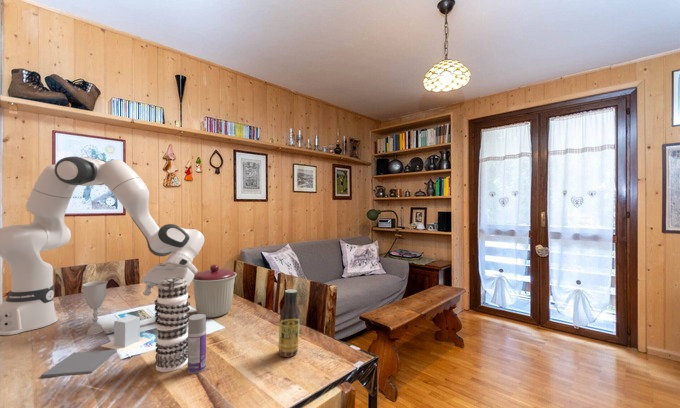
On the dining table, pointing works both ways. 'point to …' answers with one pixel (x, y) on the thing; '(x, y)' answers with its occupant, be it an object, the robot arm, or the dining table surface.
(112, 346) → the card
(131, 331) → the grey blue block
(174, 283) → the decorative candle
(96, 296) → the chalice
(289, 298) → the sauce bottle
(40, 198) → the robot arm
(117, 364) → the dining table surface
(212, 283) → the canister
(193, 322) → the container
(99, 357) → the slate coaster
